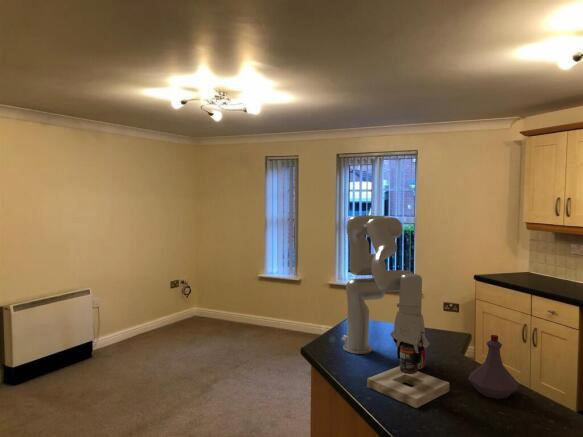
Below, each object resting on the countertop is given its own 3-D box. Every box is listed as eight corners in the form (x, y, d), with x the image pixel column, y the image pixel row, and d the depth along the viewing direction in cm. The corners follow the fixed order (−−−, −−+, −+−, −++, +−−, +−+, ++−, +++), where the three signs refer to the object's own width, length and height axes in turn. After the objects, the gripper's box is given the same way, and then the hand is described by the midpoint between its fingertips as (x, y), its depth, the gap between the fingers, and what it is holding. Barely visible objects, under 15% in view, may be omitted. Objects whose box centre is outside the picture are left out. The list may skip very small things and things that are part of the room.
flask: (457, 390, 149) (459, 333, 149) (482, 379, 159) (483, 326, 159) (504, 408, 136) (507, 347, 136) (528, 395, 146) (530, 338, 146)
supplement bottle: (413, 368, 153) (414, 336, 152) (420, 374, 147) (421, 342, 146) (397, 368, 152) (398, 337, 151) (403, 375, 146) (404, 342, 146)
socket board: (367, 386, 151) (367, 378, 151) (400, 373, 164) (401, 365, 164) (416, 408, 135) (416, 398, 135) (449, 391, 148) (449, 382, 148)
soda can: (426, 371, 166) (427, 340, 166) (407, 369, 167) (408, 339, 167) (424, 364, 173) (425, 335, 172) (406, 363, 174) (407, 334, 174)
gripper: (383, 306, 153) (382, 356, 153) (426, 316, 140) (424, 370, 140) (396, 303, 158) (394, 351, 158) (438, 312, 144) (436, 365, 145)
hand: (408, 360), depth 149 cm, fingers closed on supplement bottle, 6 cm apart
